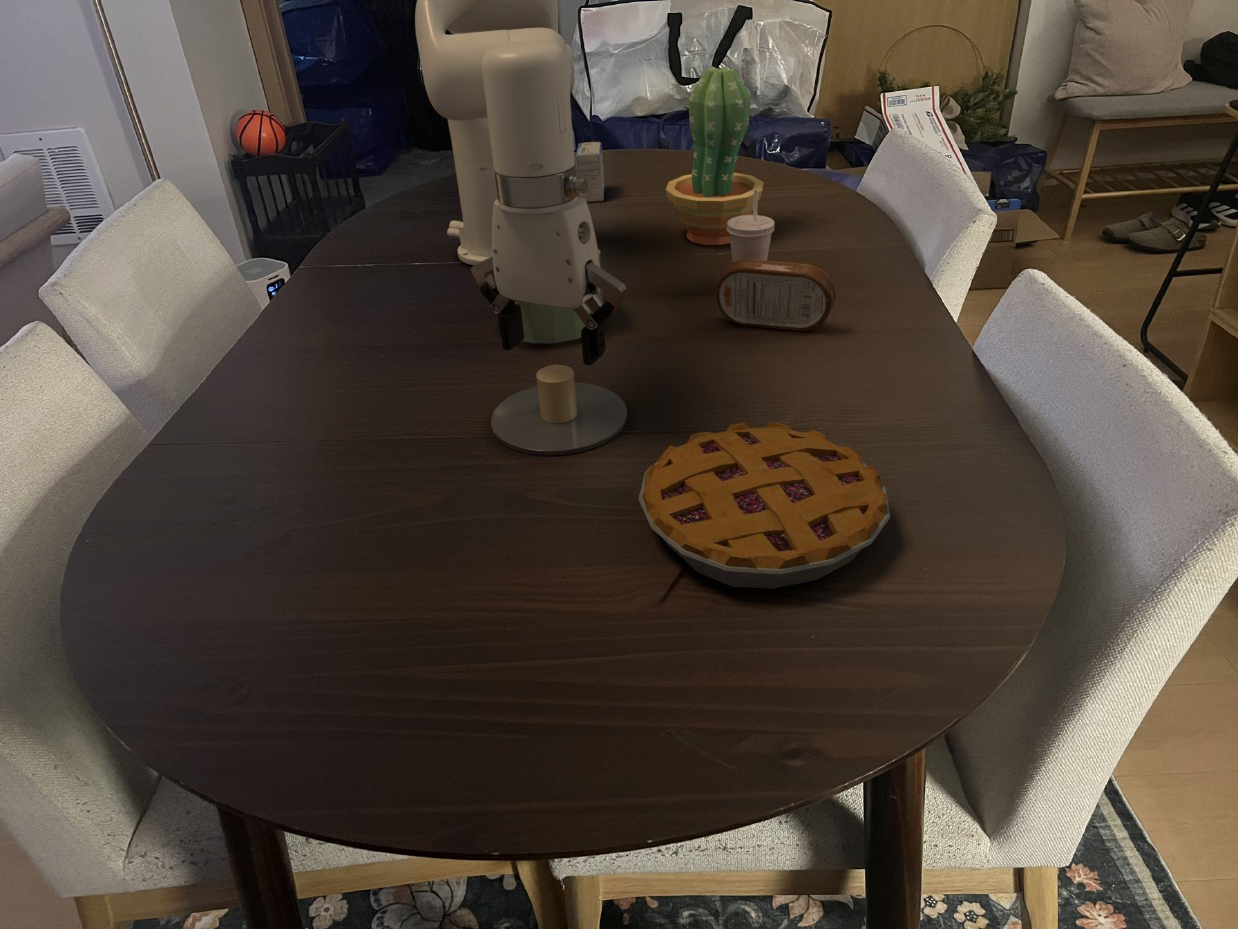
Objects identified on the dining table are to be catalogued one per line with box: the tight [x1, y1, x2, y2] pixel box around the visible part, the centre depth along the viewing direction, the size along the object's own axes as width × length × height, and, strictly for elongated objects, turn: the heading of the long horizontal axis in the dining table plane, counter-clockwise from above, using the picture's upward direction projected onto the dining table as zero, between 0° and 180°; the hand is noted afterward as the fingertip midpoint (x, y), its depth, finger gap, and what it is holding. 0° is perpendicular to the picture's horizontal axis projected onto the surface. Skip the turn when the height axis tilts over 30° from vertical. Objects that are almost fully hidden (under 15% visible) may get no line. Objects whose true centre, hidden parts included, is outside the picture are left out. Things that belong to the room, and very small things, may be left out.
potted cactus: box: [665, 65, 764, 246], centre depth 141 cm, size 16×15×25 cm
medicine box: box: [575, 141, 605, 203], centre depth 166 cm, size 8×4×9 cm, turn 179°
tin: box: [714, 259, 836, 332], centre depth 116 cm, size 15×3×8 cm, turn 71°
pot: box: [492, 248, 605, 344], centre depth 120 cm, size 14×19×10 cm
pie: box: [638, 421, 891, 589], centre depth 83 cm, size 22×22×5 cm
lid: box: [490, 364, 628, 457], centre depth 99 cm, size 15×15×6 cm
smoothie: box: [727, 189, 775, 263], centre depth 125 cm, size 6×6×14 cm
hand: (553, 352), depth 95 cm, fingers open, 9 cm apart
